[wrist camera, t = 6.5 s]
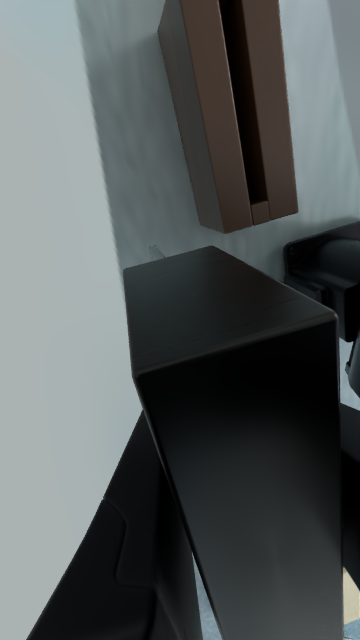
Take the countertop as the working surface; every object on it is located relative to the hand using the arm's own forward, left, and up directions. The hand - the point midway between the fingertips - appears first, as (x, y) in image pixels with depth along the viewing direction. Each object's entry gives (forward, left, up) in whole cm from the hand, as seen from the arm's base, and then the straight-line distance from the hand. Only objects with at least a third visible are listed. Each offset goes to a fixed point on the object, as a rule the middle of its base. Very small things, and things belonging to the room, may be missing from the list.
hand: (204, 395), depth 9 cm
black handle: (0, 0, -6) cm, 6 cm away
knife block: (-6, -8, -13) cm, 16 cm away
